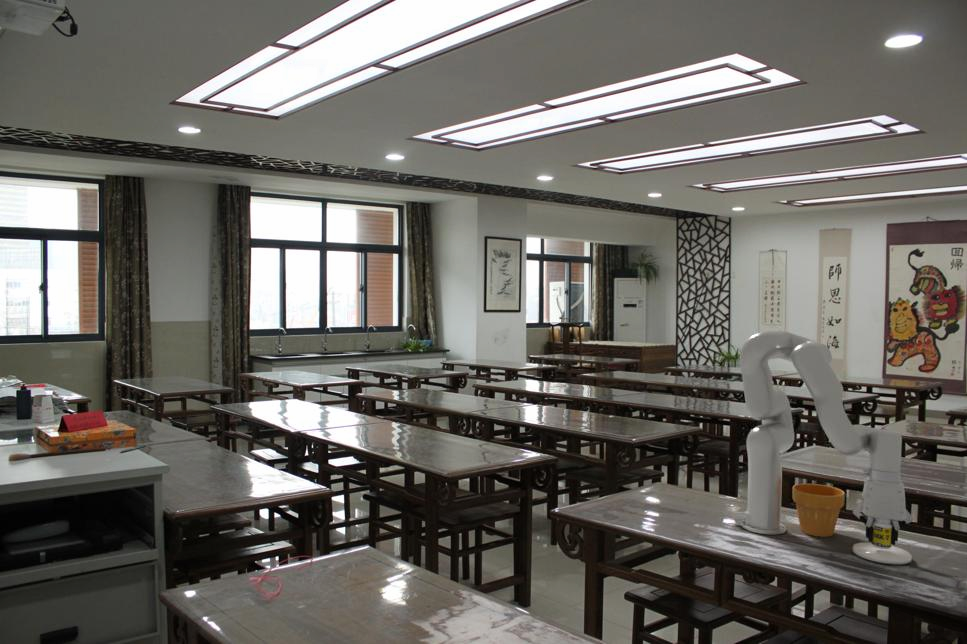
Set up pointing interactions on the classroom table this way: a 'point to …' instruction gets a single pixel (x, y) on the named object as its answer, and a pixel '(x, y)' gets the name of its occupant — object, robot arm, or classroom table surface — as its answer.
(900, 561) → the dish
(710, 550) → the classroom table surface
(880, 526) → the supplement bottle
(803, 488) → the flower pot
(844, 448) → the robot arm
